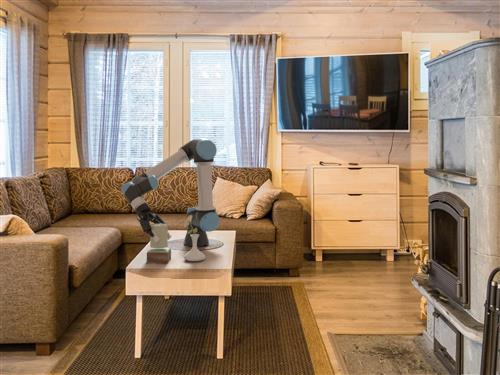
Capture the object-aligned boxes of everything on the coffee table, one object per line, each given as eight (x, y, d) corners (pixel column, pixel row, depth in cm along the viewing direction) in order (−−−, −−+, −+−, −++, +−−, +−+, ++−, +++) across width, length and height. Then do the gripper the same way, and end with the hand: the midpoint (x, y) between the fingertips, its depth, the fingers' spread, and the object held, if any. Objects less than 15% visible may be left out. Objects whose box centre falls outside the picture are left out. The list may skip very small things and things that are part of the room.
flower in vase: (194, 256, 274) (194, 211, 272) (209, 260, 267) (210, 214, 265) (177, 261, 264) (177, 214, 262) (192, 264, 257) (192, 216, 255)
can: (159, 249, 257) (159, 226, 256) (146, 246, 262) (146, 224, 261) (171, 246, 265) (171, 223, 264) (158, 243, 270) (158, 222, 269)
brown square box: (150, 259, 269) (150, 247, 269) (171, 259, 270) (171, 247, 269) (146, 263, 258) (146, 251, 258) (167, 264, 259) (167, 252, 258)
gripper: (150, 209, 279) (173, 240, 272) (122, 213, 260) (145, 247, 254) (158, 200, 276) (180, 232, 269) (130, 204, 257) (153, 238, 250)
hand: (163, 239), depth 261 cm, fingers closed on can, 9 cm apart
